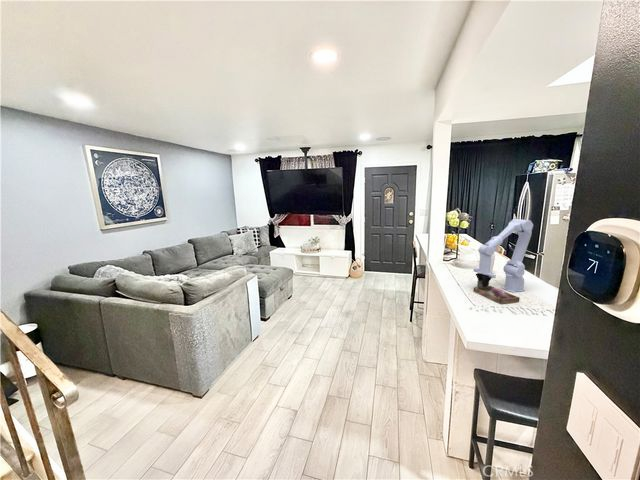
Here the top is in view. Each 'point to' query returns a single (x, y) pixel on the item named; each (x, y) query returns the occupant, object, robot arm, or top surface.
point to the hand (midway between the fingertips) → (482, 285)
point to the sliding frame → (481, 289)
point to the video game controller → (499, 293)
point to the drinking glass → (492, 262)
